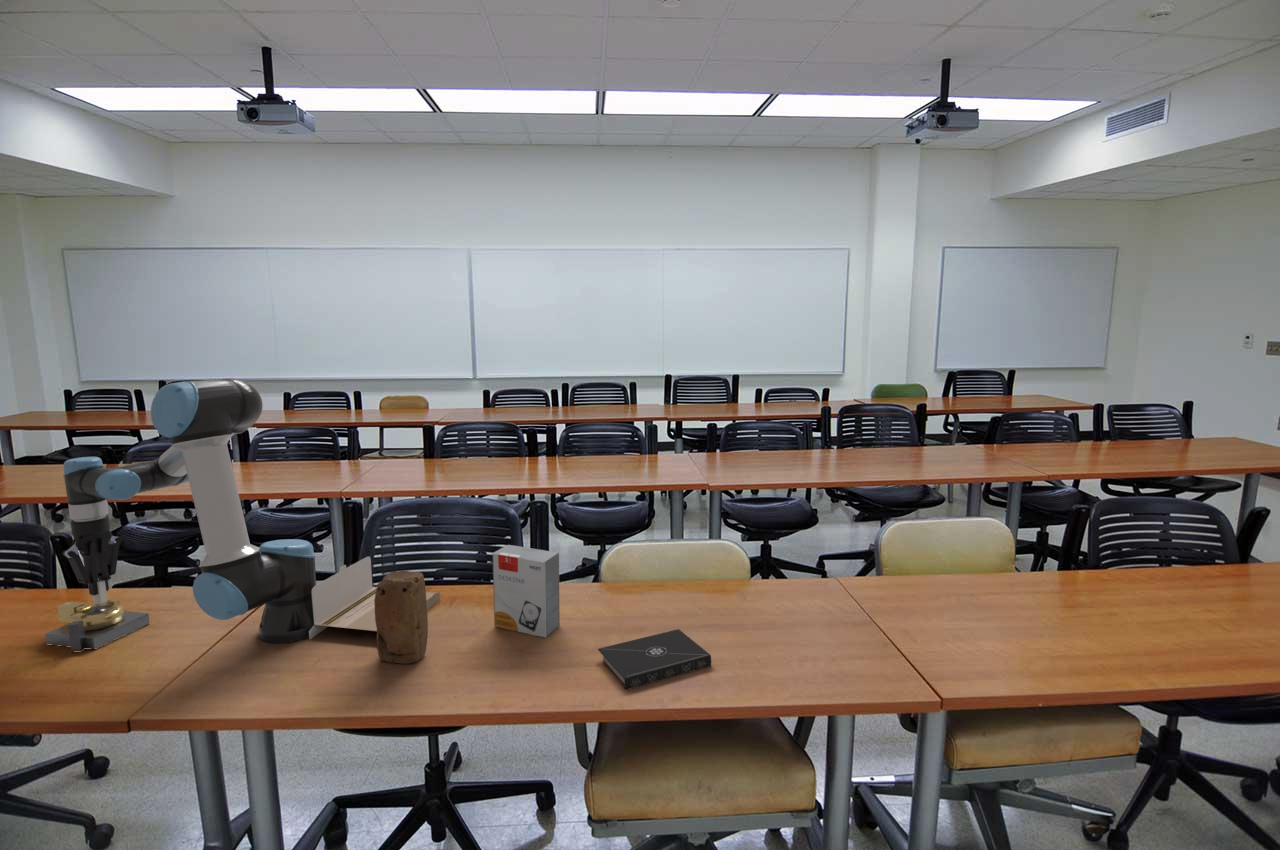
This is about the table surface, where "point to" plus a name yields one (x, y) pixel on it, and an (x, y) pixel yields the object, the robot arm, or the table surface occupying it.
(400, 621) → the block
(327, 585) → the box
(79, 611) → the brass ring with ball
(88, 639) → the housing
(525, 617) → the hard drive box
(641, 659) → the book
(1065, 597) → the table surface
